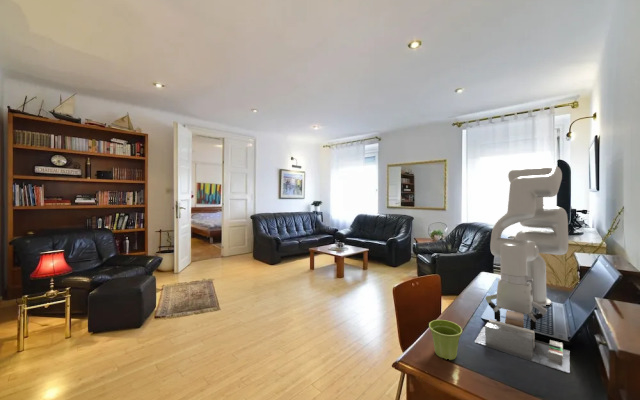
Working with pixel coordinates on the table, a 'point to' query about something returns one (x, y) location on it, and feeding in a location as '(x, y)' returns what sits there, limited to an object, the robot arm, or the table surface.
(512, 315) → the walnut bar
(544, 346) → the frame
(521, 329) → the gauge pad
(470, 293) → the table surface
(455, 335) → the plant pot
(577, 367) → the table surface
